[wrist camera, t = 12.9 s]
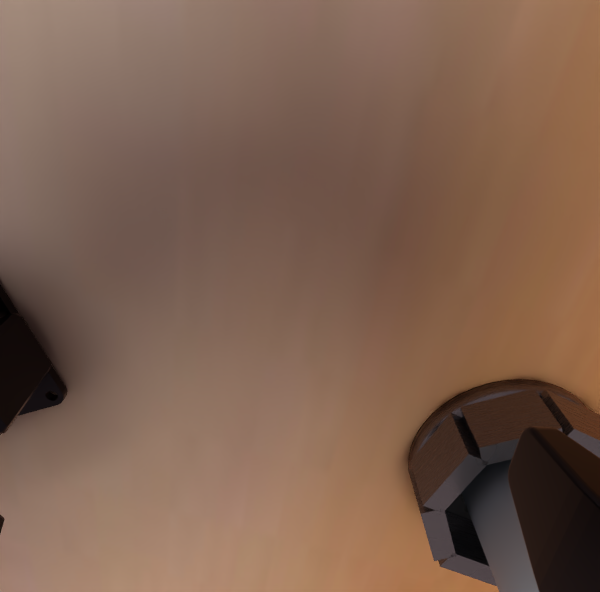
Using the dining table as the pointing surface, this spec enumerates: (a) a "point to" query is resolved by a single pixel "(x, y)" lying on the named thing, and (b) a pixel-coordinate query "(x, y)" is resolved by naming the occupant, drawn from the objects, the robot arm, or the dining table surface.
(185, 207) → the dining table surface
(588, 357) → the dining table surface
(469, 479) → the socket collar
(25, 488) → the dining table surface
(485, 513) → the peg
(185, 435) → the dining table surface
